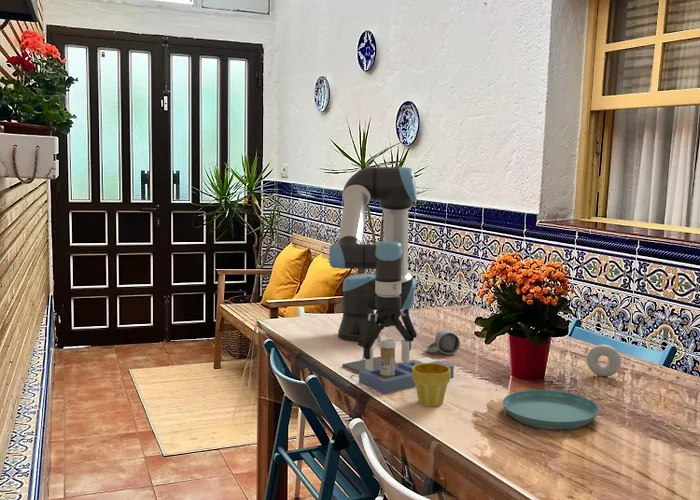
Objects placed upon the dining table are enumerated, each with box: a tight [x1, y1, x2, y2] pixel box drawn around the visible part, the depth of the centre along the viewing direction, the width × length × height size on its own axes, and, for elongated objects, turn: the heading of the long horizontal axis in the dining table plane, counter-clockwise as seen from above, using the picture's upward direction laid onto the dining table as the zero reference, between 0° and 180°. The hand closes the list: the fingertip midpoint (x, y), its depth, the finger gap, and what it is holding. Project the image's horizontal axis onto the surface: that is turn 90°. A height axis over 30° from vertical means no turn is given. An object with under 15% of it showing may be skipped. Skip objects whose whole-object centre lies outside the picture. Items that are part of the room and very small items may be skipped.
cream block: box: [413, 356, 438, 366], centre depth 218 cm, size 5×5×5 cm
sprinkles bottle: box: [379, 338, 397, 379], centre depth 209 cm, size 5×5×14 cm
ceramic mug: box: [426, 329, 461, 356], centre depth 245 cm, size 11×8×8 cm
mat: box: [341, 356, 399, 374], centre depth 226 cm, size 15×15×1 cm
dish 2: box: [397, 356, 455, 379], centre depth 218 cm, size 12×12×4 cm
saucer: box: [502, 389, 600, 430], centre depth 185 cm, size 24×24×3 cm
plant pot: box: [412, 363, 451, 408], centre depth 194 cm, size 10×10×10 cm
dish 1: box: [358, 367, 416, 395], centre depth 209 cm, size 12×12×4 cm
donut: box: [586, 344, 622, 377], centre depth 217 cm, size 10×4×10 cm, turn 65°
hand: (387, 365), depth 209 cm, fingers open, 13 cm apart
